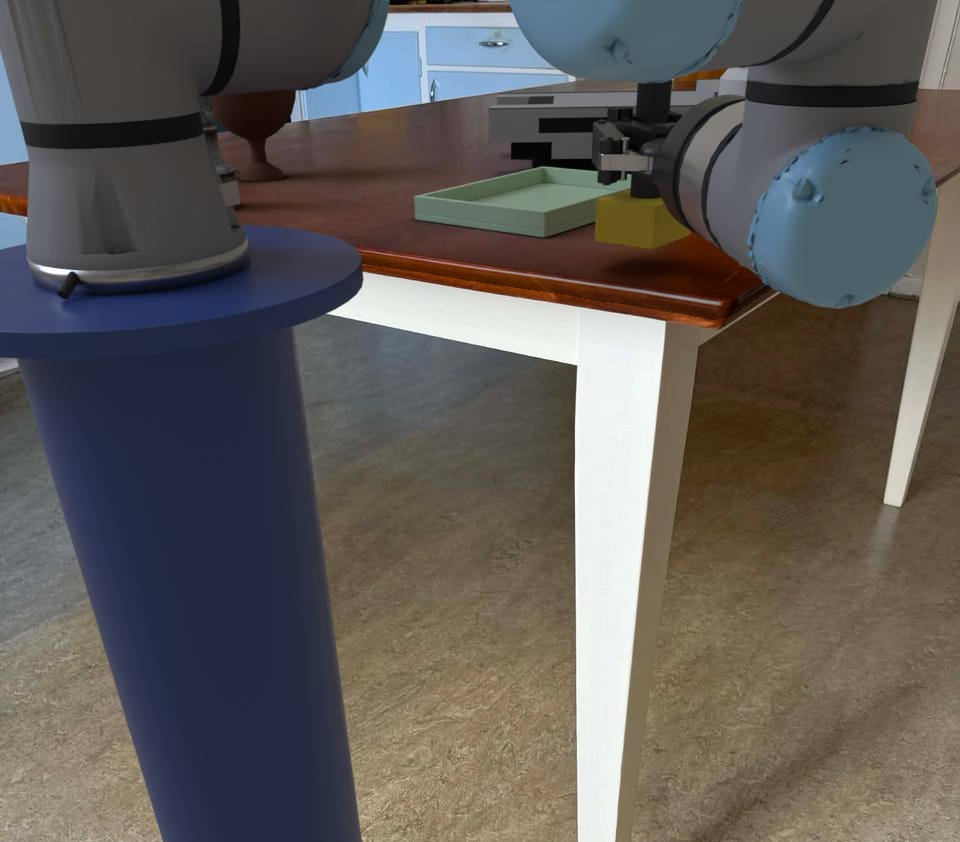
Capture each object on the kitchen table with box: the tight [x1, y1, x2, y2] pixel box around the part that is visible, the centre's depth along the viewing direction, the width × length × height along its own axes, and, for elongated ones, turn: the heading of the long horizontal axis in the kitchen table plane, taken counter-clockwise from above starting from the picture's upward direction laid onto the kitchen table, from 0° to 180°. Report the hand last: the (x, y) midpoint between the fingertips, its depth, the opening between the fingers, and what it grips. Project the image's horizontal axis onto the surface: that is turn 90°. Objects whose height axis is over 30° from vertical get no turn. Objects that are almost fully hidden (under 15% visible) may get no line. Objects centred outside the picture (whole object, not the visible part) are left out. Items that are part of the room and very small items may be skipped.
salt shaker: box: [198, 96, 241, 210], centre depth 95 cm, size 6×6×12 cm
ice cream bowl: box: [210, 89, 297, 182], centre depth 110 cm, size 11×11×15 cm
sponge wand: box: [594, 79, 692, 250], centre depth 68 cm, size 6×5×14 cm
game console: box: [487, 78, 720, 174], centre depth 115 cm, size 21×32×8 cm, turn 86°
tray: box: [413, 167, 631, 239], centre depth 93 cm, size 21×15×2 cm
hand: (630, 126), depth 73 cm, fingers closed on sponge wand, 2 cm apart
